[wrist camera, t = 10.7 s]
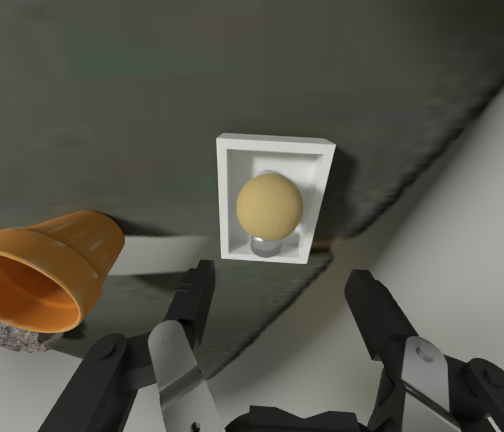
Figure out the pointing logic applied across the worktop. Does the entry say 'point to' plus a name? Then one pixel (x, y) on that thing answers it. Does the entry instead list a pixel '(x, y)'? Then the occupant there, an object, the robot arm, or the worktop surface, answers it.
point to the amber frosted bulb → (269, 206)
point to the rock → (27, 339)
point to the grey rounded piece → (265, 247)
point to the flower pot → (56, 270)
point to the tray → (285, 164)
